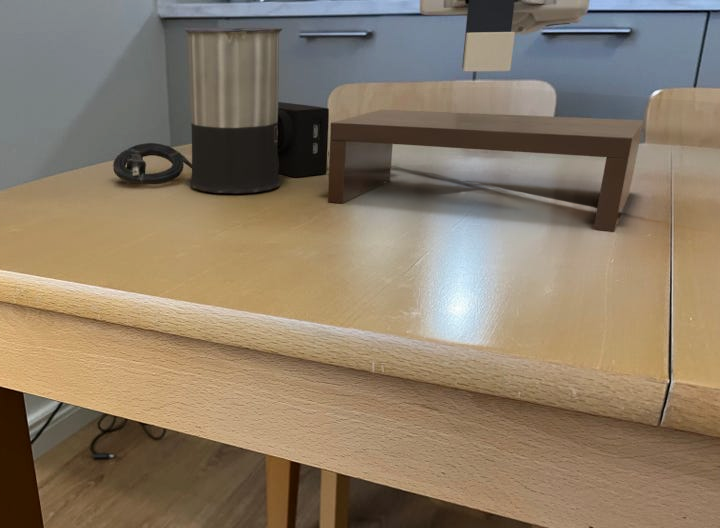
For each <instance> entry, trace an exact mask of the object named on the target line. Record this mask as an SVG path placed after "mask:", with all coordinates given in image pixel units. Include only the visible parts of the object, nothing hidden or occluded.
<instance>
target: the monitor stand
mask: <svg viewBox="0 0 720 528" xmlns="http://www.w3.org/2000/svg"><path fill="white" fill-rule="evenodd" d="M643 127H644V120H643V119H625V118H623V119H621V118H600V117H599V118H597V117H595V118H594V117H575V116H574V117H572V116H571V117H570V116H550V115H549V116H548V115H546V116H545V115H525V114H524V115H523V114H520V115H519V114H499V113H498V114H497V113H475V112H453V111H451V112H449V111H426V110H425V111H423V110H403V109H402V110H401V109H377V110H375V111H371V112H367V113H363V114H360V115H359V114H358V115H355V116H351V117H347V118H343V119H340V120H336V121H333V122H331V123H330V135H329V160H328V161H329V164H328V165H329V166H328V187H327V189H328V191H327V202H328V203H333V204H344V203H346V202H348V201H351V200H352V199H354V198H357V197H358V196H359V197H360V195H362V194H365V193H366V192H368V191H370V190H373V189H374V188H377V187H379V186H380V185H383V184H385V183H387V182H389V181H390V180H391V172H392V159H393V145H402V146H403V145H404V146H419V147H436V148H450V149H468V150H481V151H482V150H483V151H497V152H498V151H499V152H515V153H532V154H533V153H534V154H546V155H547V154H548V155H565V156H581V157H595V158H596V157H597V158H605V163H604V169H603V174H602V179H601V186H600V190H599V196H598V200H597V201H598V202H597V208H596V213H595V217H594V223H593V228H592V229H593V230H596V231H606V232H615V230H616V229H617V226H618V224H619V222H620V219H621V217H622V214H623V209H624V207H625V205H626V202H627V200H628V198H629V196H630V192H631V186H632V182H633V177H634V171H635V167H636V162H637V157H638V152H639V148H640V147H639V146H640V141H641V136H642V131H643Z"/></svg>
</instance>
